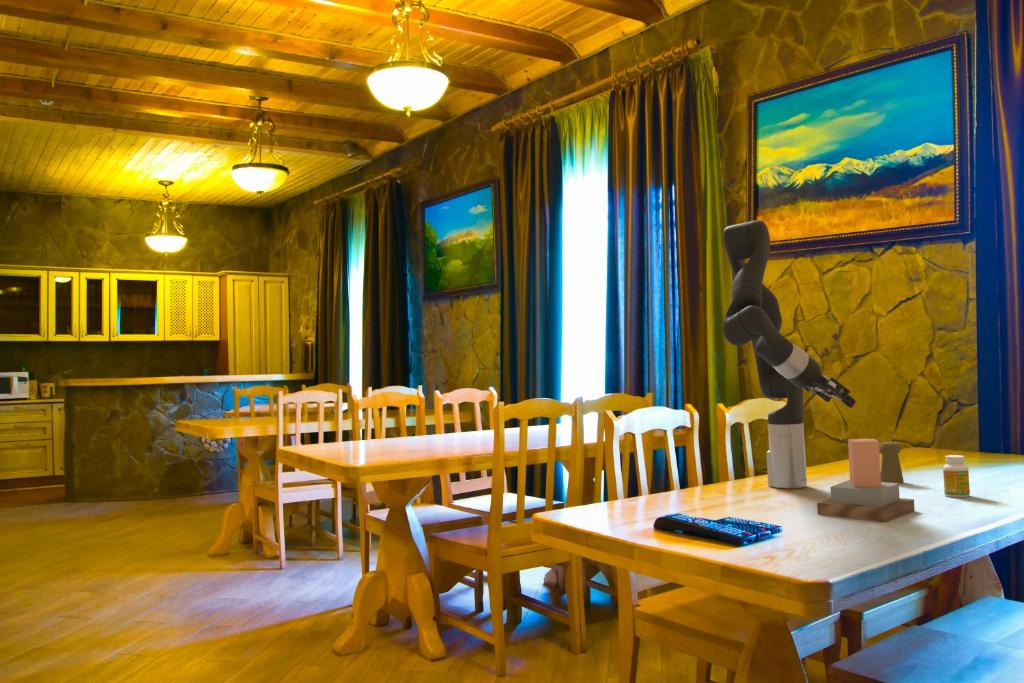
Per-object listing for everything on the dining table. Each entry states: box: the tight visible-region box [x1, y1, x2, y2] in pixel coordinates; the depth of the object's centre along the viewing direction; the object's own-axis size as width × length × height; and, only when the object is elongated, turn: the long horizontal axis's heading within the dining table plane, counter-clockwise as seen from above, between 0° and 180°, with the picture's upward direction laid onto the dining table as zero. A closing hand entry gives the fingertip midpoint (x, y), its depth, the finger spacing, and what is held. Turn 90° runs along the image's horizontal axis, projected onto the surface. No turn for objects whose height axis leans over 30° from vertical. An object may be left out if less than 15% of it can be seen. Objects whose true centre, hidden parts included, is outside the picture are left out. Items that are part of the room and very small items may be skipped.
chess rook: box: [879, 441, 905, 485], centre depth 219 cm, size 6×6×11 cm
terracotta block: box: [847, 438, 881, 487], centre depth 181 cm, size 6×6×10 cm
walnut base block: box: [816, 497, 916, 523], centre depth 180 cm, size 15×15×4 cm
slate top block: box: [829, 479, 901, 507], centre depth 181 cm, size 11×11×4 cm
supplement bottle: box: [942, 454, 971, 499], centre depth 195 cm, size 5×5×10 cm
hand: (841, 401), depth 194 cm, fingers open, 8 cm apart
